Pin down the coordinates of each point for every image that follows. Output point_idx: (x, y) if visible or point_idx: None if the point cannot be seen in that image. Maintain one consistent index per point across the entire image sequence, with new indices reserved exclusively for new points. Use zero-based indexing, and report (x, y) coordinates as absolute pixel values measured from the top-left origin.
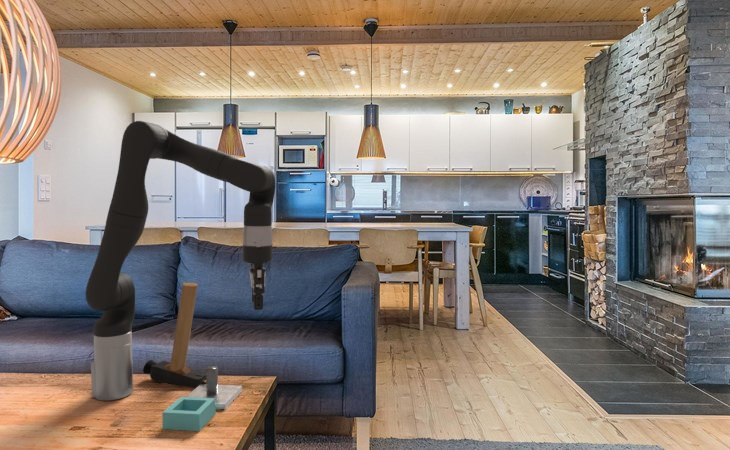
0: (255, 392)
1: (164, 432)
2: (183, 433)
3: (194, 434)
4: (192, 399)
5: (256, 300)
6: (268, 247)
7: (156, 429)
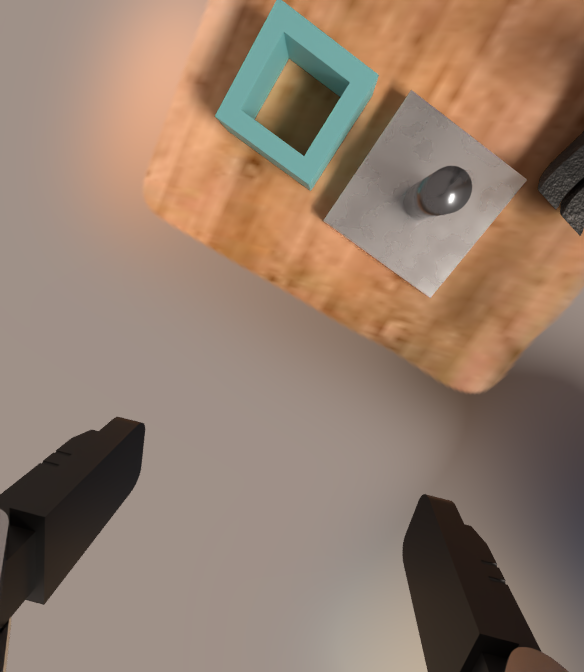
0: (395, 326)
1: None
2: None
3: None
4: (334, 111)
5: (28, 480)
6: None
7: None
